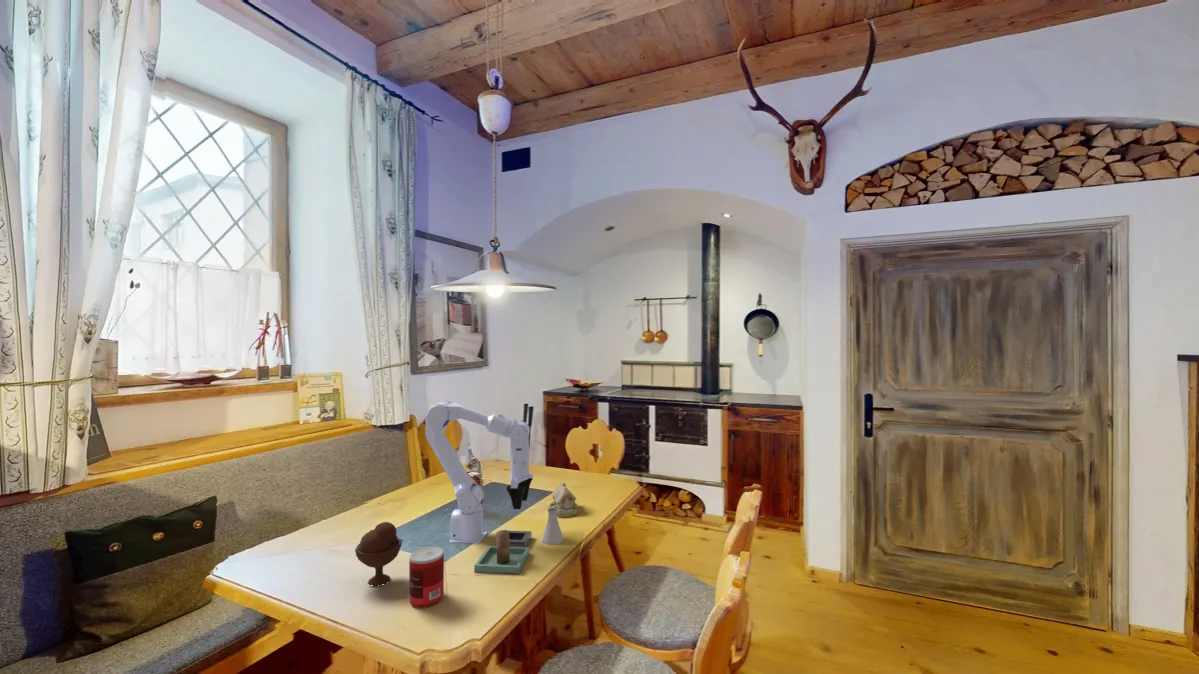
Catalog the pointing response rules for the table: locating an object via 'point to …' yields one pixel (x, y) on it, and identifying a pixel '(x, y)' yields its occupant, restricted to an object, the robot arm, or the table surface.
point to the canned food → (426, 576)
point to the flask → (552, 529)
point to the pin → (503, 547)
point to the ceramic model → (563, 501)
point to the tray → (490, 564)
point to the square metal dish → (519, 538)
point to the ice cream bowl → (379, 550)
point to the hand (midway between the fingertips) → (520, 504)
